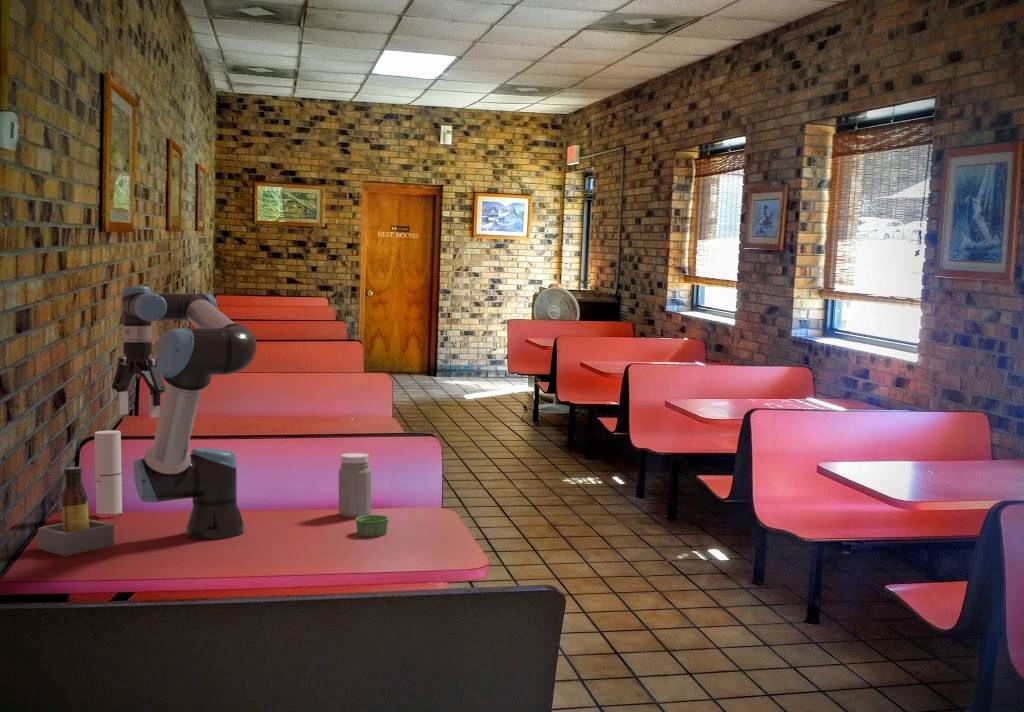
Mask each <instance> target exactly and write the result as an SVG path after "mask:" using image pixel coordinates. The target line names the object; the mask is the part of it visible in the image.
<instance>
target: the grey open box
mask: <svg viewBox="0 0 1024 712" xmlns="http://www.w3.org/2000/svg"><path fill="white" fill-rule="evenodd" d="M37 540H38V548H39V549H38V550H40V549H42V550H41V551H44V552H48V553H51V554H56V555H59V556H62V557H63V556H64V557H68V556H69V557H70V556H73V555H77V554H81V553H82V554H83V553H85V552H91V551H96V550H101V549H104V548H105V549H106V548H111V547H114V546H115V524H114V523H113V524H112V523H107V522H103V521H98V520H94V519H90V518H89V529H84V530H79V531H73V532H68V533H65V532H63V522H62V523H61V522H60V523H56V524H52V525H46V526H45V525H44V526H41V527H38V528H37Z"/></svg>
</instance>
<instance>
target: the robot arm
mask: <svg viewBox="0 0 1024 712" xmlns="http://www.w3.org/2000/svg"><path fill="white" fill-rule="evenodd" d="M151 291H152V290H151V288H150V287H149V286H137V285H136V286H124V287H123V289H122V296H121V300H122V325H123V326H122V327H123V328H122V330H123V332H122V333H123V334H122V335H123V338H122V339H123V340H124V342H123V343H122V345H123V347H122V348H123V355H124V357H122V356H121V357H119V358H118V365H117V368H116V372H115V375H114V377H113V381H112V385H111V389H112V390H115V391H116V392H117V393H116V394H117V397H116V398H117V405H118V406H117V408H118V416H121V415H129V391H128V387H129V385H130V383H131V381H132V380H133V378H134V376H135V375H139V376H141V377H142V380H143V381H144V382H145V384H146V386H147V387H148V388H147V389H148V390H149V391H150V393H149V397H148V398H149V399H148V401H149V418H150V419H157V418H158V421H157V425H156V430H155V435H154V439H153V443H152V445H151V446H149V447H148V448H147V449H146V450H145V452H144V457H143V458H138V459H135V460H134V463H133V476H134V483H135V488H136V491H137V495H138V498H139V499H140V500H141V501H142V502H143V503H148V504H149V503H161V502H167V501H168V502H170V501H177V500H185V499H192V507H191V511H190V514H189V518H188V522H187V524H186V526H185V529H186V530H185V533H186V534H185V535H186V536H187V537H189V538H192V539H198V540H199V539H200V540H215V539H216V540H217V539H225V538H232V537H236V536H238V535H242V534H243V533H244V532H245V525H244V524H245V523H244V521H243V518H242V514H241V512H240V509H239V506H238V495H237V494H238V489H237V487H238V486H237V484H238V482H237V481H238V480H237V478H238V477H237V469H238V466H237V458H236V457H237V456H236V455H235V453H234V452H233V451H231V450H227V449H221V448H211V447H207V448H206V447H195V448H192V449H191V452H190V453H189V452H188V450H189V445H190V441H191V436H192V432H193V428H194V424H195V420H196V416H197V415H196V414H197V411H198V406H199V403H200V399H201V395H202V390H205V389H206V388H207V387H208V386H209V385H210V383H211V380H212V376H219V375H232V374H236V373H238V372H240V371H242V370H244V369H246V368H247V367H248V366H249V365H250V364H251V363H252V361H253V360H254V359H255V356H256V354H257V348H258V347H257V346H258V345H257V341H256V337H255V335H254V334H253V332H252V331H251V330H250V329H249V328H248V327H247V326H245V325H243V324H241V323H238V322H237V323H236V322H234V321H232V320H231V319H230V317H228V316H226V315H225V314H224V313H223V312H222V311H220V310H219V309H218V305H217V304H218V303H217V300H216V298H215V296H214V295H212V294H211V293H202V292H199V293H161V292H158V293H157V292H151ZM156 321H157V322H158V321H161V322H162V321H165V322H166V321H168V322H169V321H188V322H190V324H192V325H193V326H194V327H195V328H189V327H180V328H171V329H168V330H166V331H165V332H164V333H163V334H162V336H161V337H160V339H159V341H158V344H157V349H156V354H157V356H156V358H150V355H152V354H153V345H152V339H153V335H152V333H153V331H152V330H153V329H152V322H156ZM125 356H126V357H125ZM164 382H165V383H166V384H165V383H164ZM162 393H163V397H162V401H161V394H162ZM160 405H161V406H160Z"/></svg>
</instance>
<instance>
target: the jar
mask: <svg viewBox="0 0 1024 712" xmlns="http://www.w3.org/2000/svg"><path fill="white" fill-rule="evenodd" d="M369 455H370V454H368V453H365V452H364V453H363V452H350V453H349V452H348V453H343V454H340V462H341V464H340V468H339V469H338V513H339V514H340V515H341V517H344V518H351V519H352V518H354V519H356V518H357V517H359V516H364V515H371V512H372V470H371V468H370V467H369V465H370V464H369V463H368V462H369V460H370V459H369V457H370V456H369Z"/></svg>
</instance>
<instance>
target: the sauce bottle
mask: <svg viewBox="0 0 1024 712" xmlns="http://www.w3.org/2000/svg"><path fill="white" fill-rule="evenodd" d="M63 469H64V475H65V487H64V490H63V492H62V493H61V517H62V519H61V520H62V523H63V532H65V533H68V532H73V531H79V530H84V529H89V519H90V516H89V515H90V513H89V512H90V511H89V499H88V498H89V497H88V495H87V492H86V491H85V488H84V485H83V482H82V473H83V471H82V470H83V469H82V467H80V466H70V467H66V468H63Z"/></svg>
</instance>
